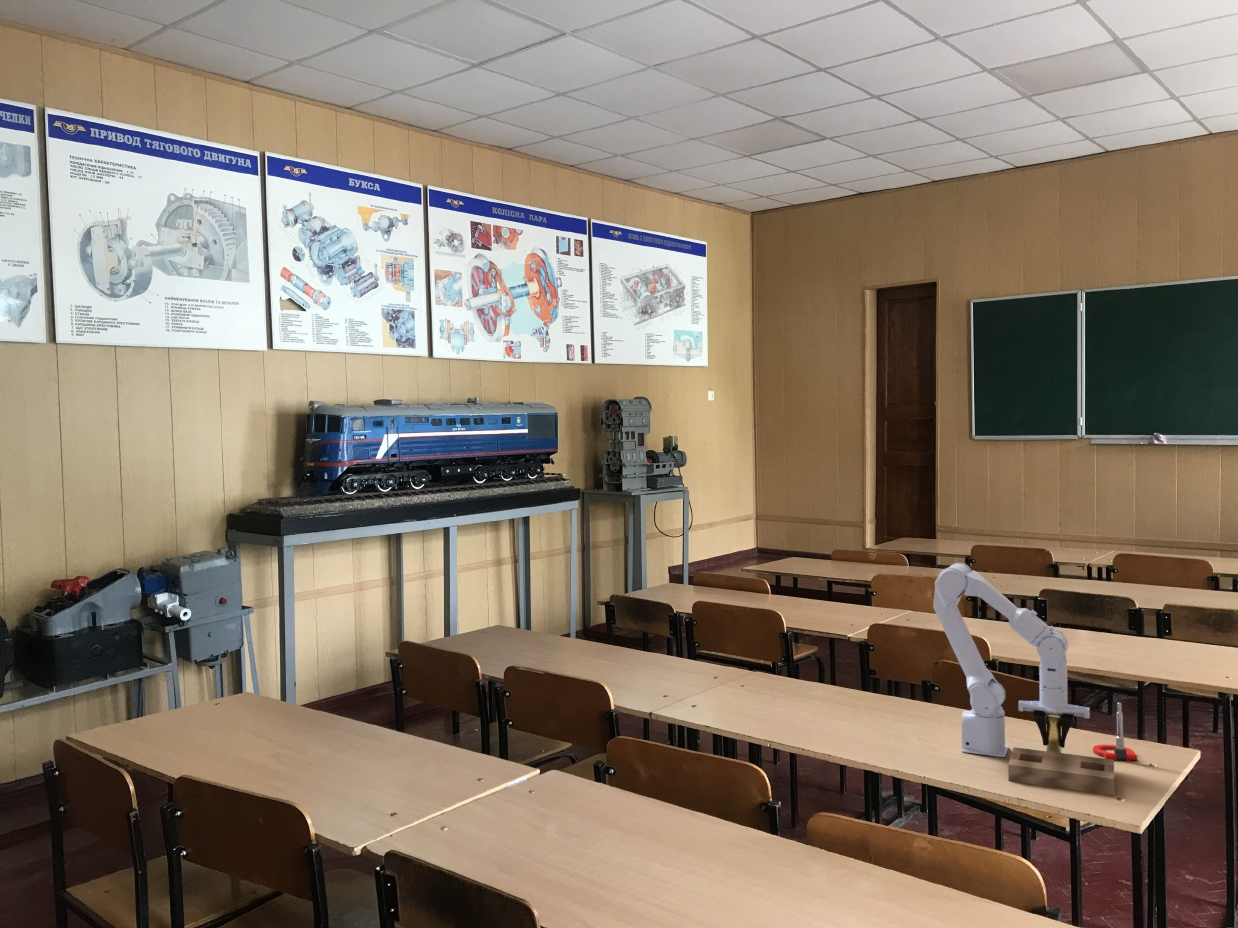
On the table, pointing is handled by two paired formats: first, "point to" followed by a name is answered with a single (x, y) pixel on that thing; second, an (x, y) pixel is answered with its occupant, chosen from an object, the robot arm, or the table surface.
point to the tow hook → (1117, 744)
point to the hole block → (1062, 770)
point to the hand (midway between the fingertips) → (1053, 745)
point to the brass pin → (1053, 733)
